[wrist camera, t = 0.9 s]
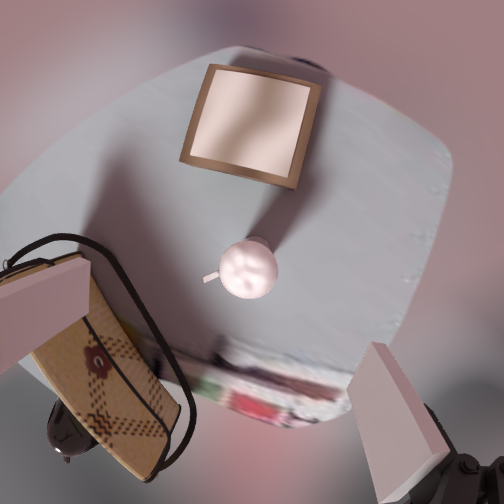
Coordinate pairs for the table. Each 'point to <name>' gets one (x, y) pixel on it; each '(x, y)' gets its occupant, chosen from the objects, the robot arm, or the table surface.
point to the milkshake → (247, 268)
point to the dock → (251, 124)
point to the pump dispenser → (67, 433)
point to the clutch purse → (109, 373)
